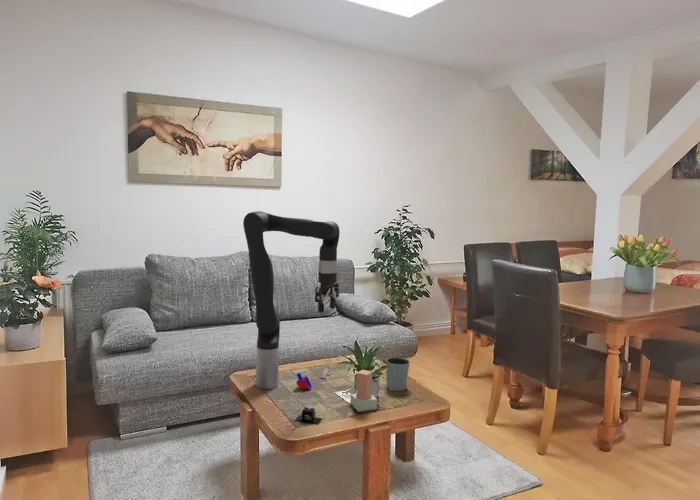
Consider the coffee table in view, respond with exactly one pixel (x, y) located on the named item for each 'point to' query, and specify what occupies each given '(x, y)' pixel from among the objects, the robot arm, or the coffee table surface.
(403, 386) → the blue-grey cup
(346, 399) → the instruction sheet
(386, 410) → the coffee table surface
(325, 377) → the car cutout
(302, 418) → the black piece
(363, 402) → the base brick
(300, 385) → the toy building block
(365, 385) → the terracotta brick
